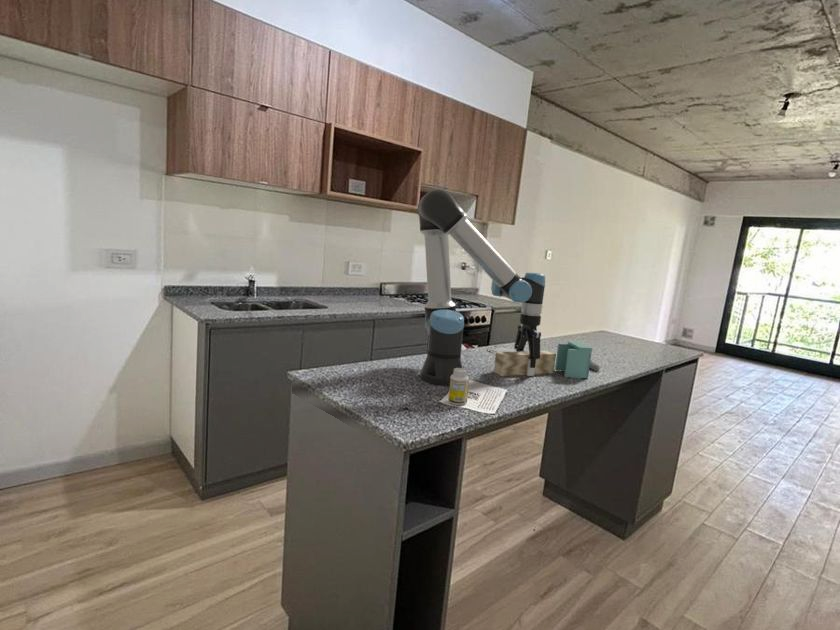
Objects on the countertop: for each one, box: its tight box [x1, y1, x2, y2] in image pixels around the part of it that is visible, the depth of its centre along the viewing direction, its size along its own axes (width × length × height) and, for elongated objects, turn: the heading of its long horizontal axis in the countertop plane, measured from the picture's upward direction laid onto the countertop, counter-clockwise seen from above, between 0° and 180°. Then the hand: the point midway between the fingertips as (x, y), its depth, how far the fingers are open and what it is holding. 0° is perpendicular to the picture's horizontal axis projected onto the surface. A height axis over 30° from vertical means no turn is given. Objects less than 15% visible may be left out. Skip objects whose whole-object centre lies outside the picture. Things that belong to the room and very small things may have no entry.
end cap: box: [554, 341, 593, 379], centre depth 175 cm, size 9×10×12 cm
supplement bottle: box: [448, 368, 470, 406], centre depth 135 cm, size 6×6×10 cm
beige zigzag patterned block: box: [493, 350, 557, 377], centre depth 173 cm, size 24×5×8 cm, turn 112°
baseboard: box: [486, 345, 556, 367], centre depth 195 cm, size 31×3×12 cm
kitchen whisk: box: [589, 360, 600, 373], centre depth 198 cm, size 6×34×6 cm, turn 4°
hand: (524, 371), depth 174 cm, fingers open, 9 cm apart
